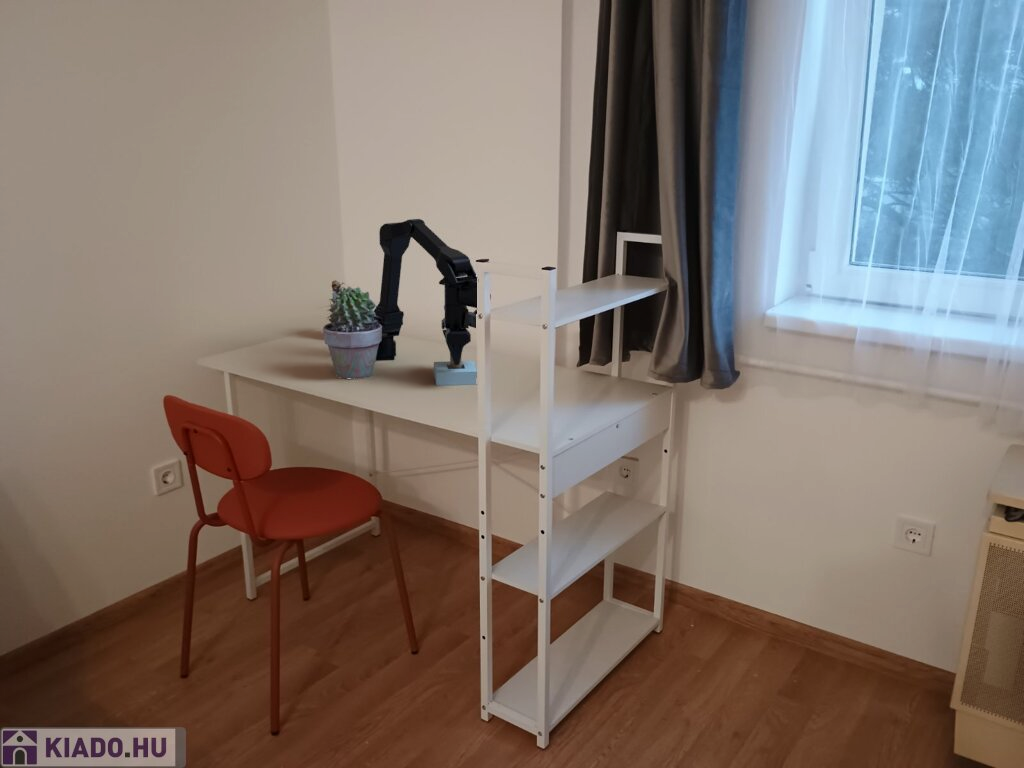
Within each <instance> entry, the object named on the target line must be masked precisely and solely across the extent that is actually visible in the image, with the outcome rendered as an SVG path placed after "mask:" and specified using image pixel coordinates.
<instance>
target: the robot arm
mask: <svg viewBox="0 0 1024 768" xmlns="http://www.w3.org/2000/svg"><path fill="white" fill-rule="evenodd" d="M378 232H379V245H380V247H381V249H382V252H383V254H384V255H383V266H382V275H381V286H380V296H379V302H378V303H377V304H376V306H378V307H376V306H375V308H374V309H373V311H374V312H375V314H376V316H378V317H374V319H375V320H378V323H379V324H381V326H383V327H382V339H381V342H380V343H379V346H378V351H377V355H376V360H375V361H378V360H379V361H381V360H382V361H383V360H385V361H386V360H388V361H389V360H390V361H391V360H395V357H396V356H397V341H396V340H395V339H394V337H399V336H400V333H401V328H402V326H403V325H404V317H405V316H404V315H405V313H404V311H402V310H401V309H400V307H399V305H398V300H399V292H400V280H401V273H402V272H401V270H402V261H403V256H404V254H405V253H406V252H407V249H409V247H410V242H411V238H412V239H413V240H414V241H415V242H416V243H417V244H419V246H420V247H421V248H422V249H424V250H425V251H426V252H427V253H428V255H430V256H431V257H432V258H433V260H434V261H435V266H436V268H437V270H438V271H439V272H440V274H441V275H442V277H443V278H441V280H440V281H439V282H438V284H439V285H442V286H444V305H443V310H444V317H443V318H442V319H441V329H442V334H443V336H444V338H445V342H446V346H447V348H448V350H449V355H450V354H451V356H452V359H453V361H454V364H455V365H459V363H460V359H461V360H462V353H463V350H464V347H465V346H466V345H468V344H469V343H471V339H472V337H471V335H472V334H471V332H470V331H469V330H468V329H469V327H471V328H474V329H476V314H477V309H478V308H477V278H478V276H477V277H476V274H477V273H476V272H475V269H474V267H473V265H472V263H471V258H469V257H468V255H467V254H465V253H463V252H462V251H461V250H458V249H456V248H452V247H450V246H449V245H448V244H446V242H444V241H443V240H442V239H441V238H440V237H439V236H438V235H437V234H436V233H435V232H434V231H432V229H430V228H429V227H428V225H426V223H425V221H424V220H423V219H421V218H413V219H407V220H404V221H401V222H387V223H383V225H381V226H380V228H379V231H378ZM491 298H492V297H491V293H490V299H491ZM382 303H383V304H382ZM380 307H381V308H380ZM468 307H470V308H474V309H475V310H474V311H470V310H469V309H468ZM375 309H376V310H375ZM379 317H380V318H379ZM384 322H385V323H384ZM389 323H390V324H389Z"/></svg>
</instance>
